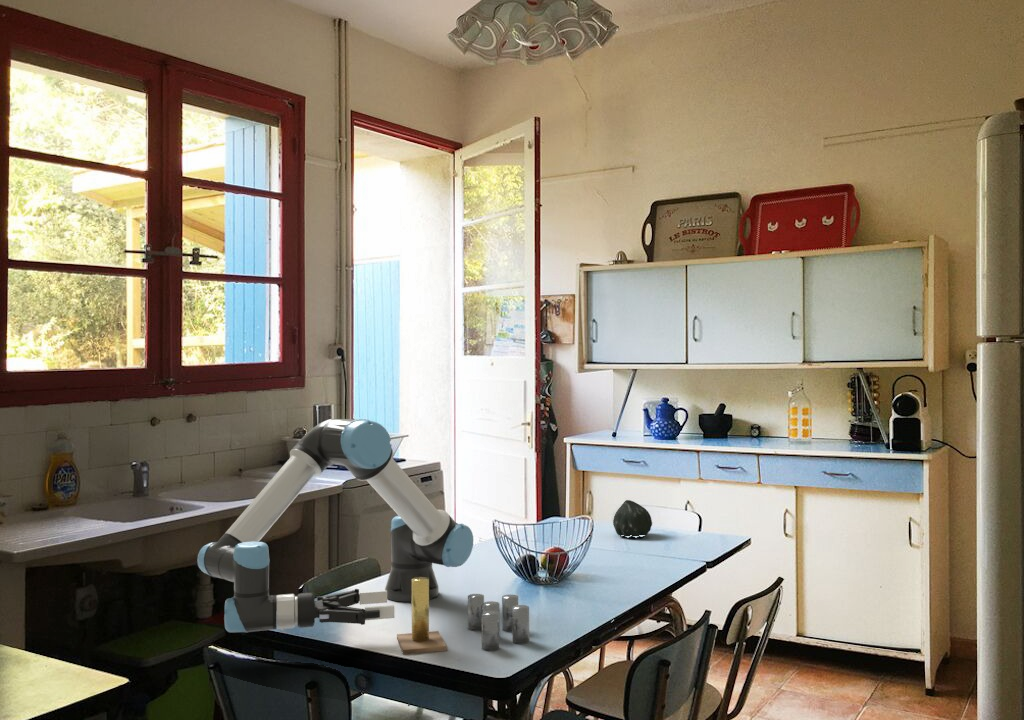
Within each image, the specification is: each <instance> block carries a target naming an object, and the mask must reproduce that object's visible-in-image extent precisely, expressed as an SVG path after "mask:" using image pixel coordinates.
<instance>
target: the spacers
mask: <svg viewBox="0 0 1024 720" xmlns="http://www.w3.org/2000/svg"><path fill="white" fill-rule="evenodd" d="M501 609H502V610H501V611H502V612H501V614H502V616H501V620H502V621H501V627H502V631H504V632H511V633H512V634H511V636H512V637H511V639H512V643H513V644H516V645H517V644H518V645H524V644H528V643H530V607H529V605H525V604H519V596H518V595H516V594H503V595H502V596H501ZM467 628H468V630H469V631H473V632H474V631H475V632H477V631H481V649H482V651H487V652H494V651H495V652H496V651H497V650H500V634H501V633H500V631H501V630H500V602H499V601H492V600H491V601H485V596H484V594H482V593H472V594H468V595H467Z"/></svg>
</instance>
